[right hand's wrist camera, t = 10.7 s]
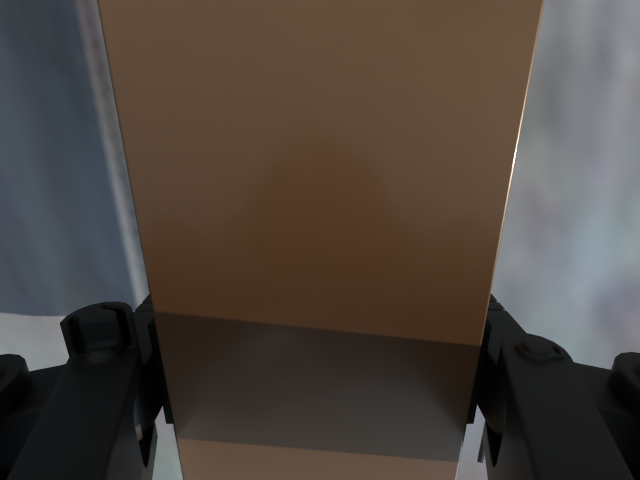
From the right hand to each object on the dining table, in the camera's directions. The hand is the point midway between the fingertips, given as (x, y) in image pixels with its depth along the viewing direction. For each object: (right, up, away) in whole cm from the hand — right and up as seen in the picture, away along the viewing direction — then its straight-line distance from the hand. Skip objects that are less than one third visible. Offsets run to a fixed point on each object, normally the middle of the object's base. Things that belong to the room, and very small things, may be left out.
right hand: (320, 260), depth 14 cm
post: (0, +29, -10) cm, 31 cm away
